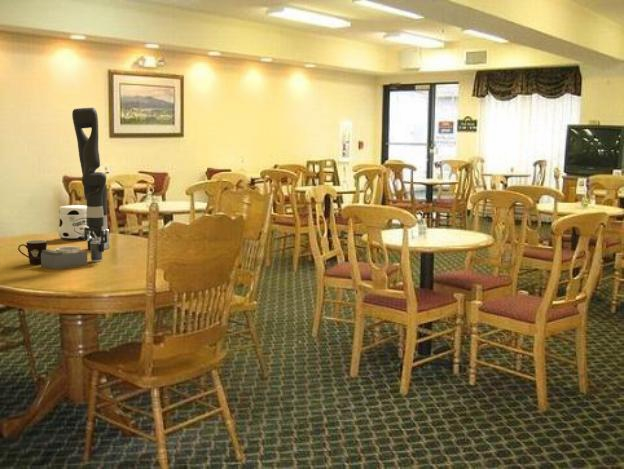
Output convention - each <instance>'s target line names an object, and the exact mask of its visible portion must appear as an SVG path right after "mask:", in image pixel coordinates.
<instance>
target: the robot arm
mask: <svg viewBox="0 0 624 469" xmlns="http://www.w3.org/2000/svg"><path fill="white" fill-rule="evenodd" d="M71 114H72V115H71V116H72V122H73V127H74V131H75V136H76V141H77V150H78V157H79V163H80V168H81V173H82V177H81V184H82V186H83V195H84V199H85V201H86V206H87V209H86V221H87V226H88V227H87V228H84V239H83V240H84V241H86V243H87V250H88V251H91V243H90V242H91V241H98V243H99V252H102V253H104V251H105V250H107V249H110V248H111V247H110V245H111V244H110V230H109V229H108V187H107V184H106V183H107V176H106V175H105V173H104V172H102V171H97V169H99V168H100V167H101V160H100V152H99V117H98V112H97V110H96V108H95V107H83V108H82V107H81V108H74V109H73V110H72V113H71ZM83 129H91V130H90V134H89V137H88V136H87V135H86V133H85V132H84V130H83ZM96 171H97V172H96ZM87 235H88V236H87ZM87 237H88V238H87Z"/></svg>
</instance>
